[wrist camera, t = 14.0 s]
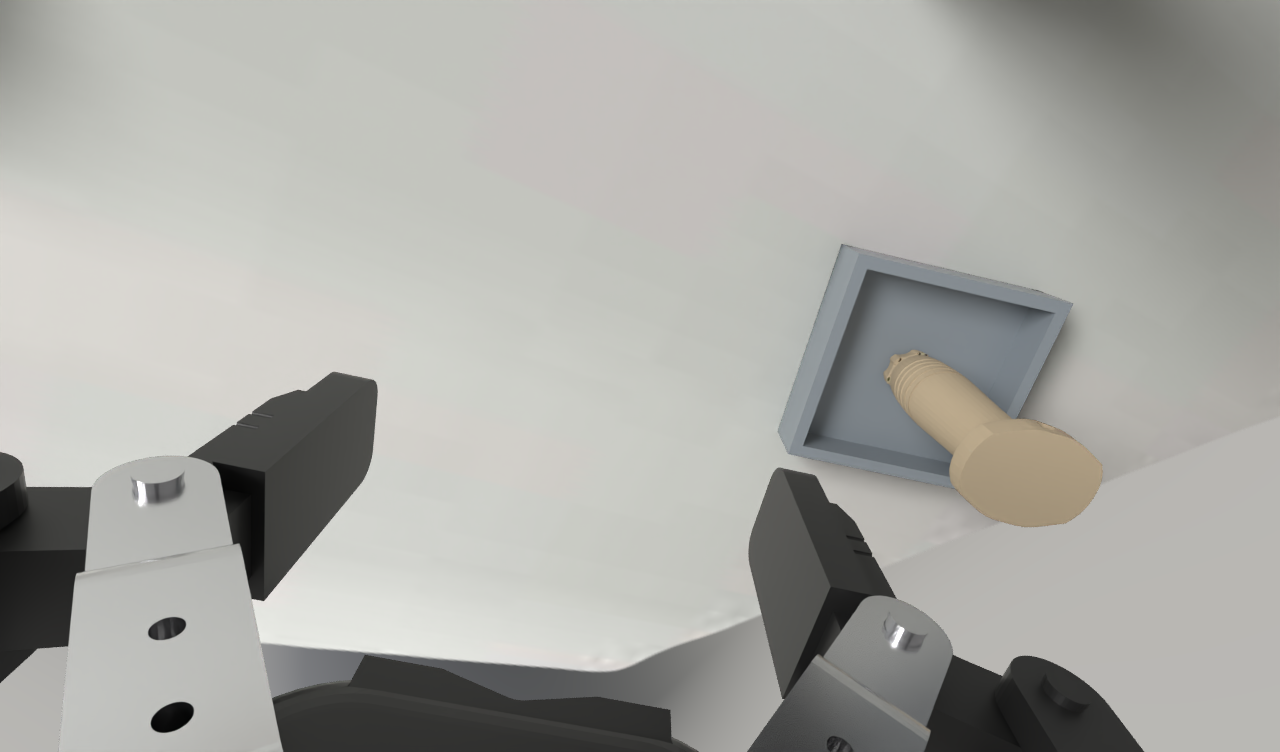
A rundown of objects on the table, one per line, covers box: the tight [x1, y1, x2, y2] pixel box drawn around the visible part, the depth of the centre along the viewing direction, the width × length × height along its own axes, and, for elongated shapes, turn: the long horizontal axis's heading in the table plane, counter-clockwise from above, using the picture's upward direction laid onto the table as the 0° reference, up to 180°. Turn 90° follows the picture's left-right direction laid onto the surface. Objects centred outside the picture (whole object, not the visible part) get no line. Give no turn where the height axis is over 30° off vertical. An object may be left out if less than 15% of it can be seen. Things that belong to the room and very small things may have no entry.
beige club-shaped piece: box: [883, 350, 1103, 527], centre depth 35 cm, size 5×6×15 cm
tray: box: [778, 244, 1073, 489], centre depth 41 cm, size 14×14×4 cm
